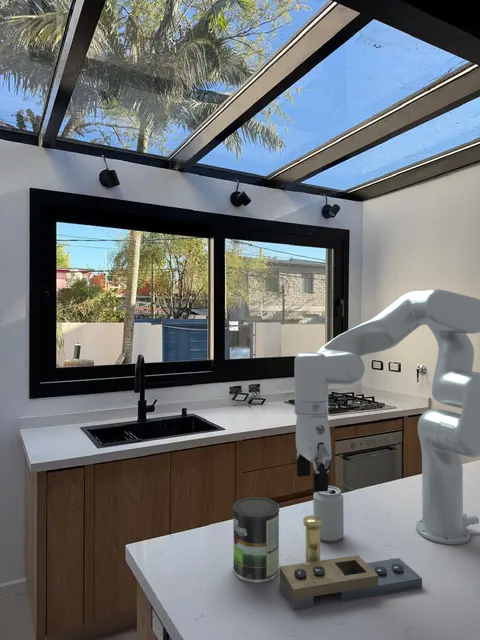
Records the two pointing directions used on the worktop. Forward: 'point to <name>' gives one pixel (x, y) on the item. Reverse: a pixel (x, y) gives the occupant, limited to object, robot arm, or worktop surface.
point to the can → (329, 513)
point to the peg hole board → (345, 579)
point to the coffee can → (256, 539)
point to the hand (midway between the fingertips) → (311, 483)
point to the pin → (312, 537)
